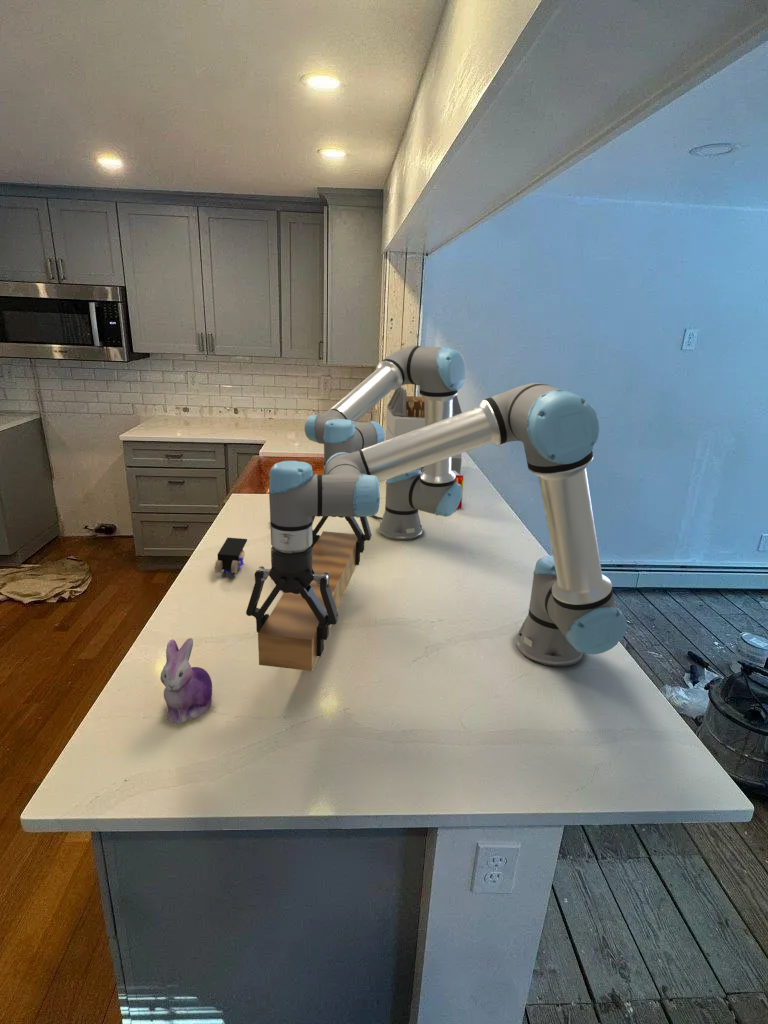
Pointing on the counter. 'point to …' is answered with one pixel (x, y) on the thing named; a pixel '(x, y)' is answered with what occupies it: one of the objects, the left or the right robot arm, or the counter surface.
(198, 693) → the figurine
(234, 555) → the figurine character
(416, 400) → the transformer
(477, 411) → the right robot arm
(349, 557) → the thick board
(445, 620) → the counter surface
